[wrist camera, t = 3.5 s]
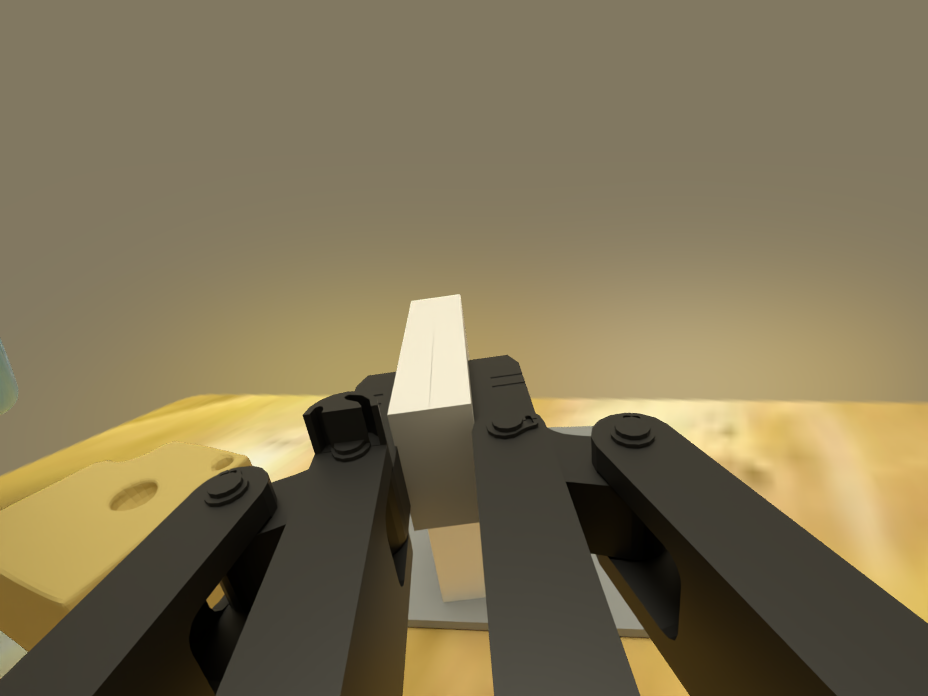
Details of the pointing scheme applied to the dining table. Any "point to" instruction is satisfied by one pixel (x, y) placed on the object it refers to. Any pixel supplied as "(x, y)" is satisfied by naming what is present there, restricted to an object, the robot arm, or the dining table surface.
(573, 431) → the slate mat
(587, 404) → the dining table surface
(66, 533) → the cheese
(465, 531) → the tall block
